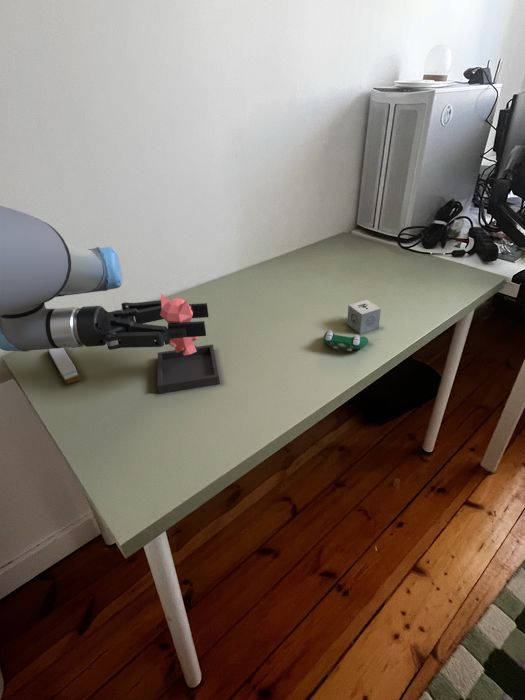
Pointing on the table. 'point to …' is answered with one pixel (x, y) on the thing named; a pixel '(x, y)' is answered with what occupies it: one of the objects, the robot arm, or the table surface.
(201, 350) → the black tray
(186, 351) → the cat figurine
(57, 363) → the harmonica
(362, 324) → the dice cube
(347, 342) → the green elongated piece
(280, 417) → the table surface
